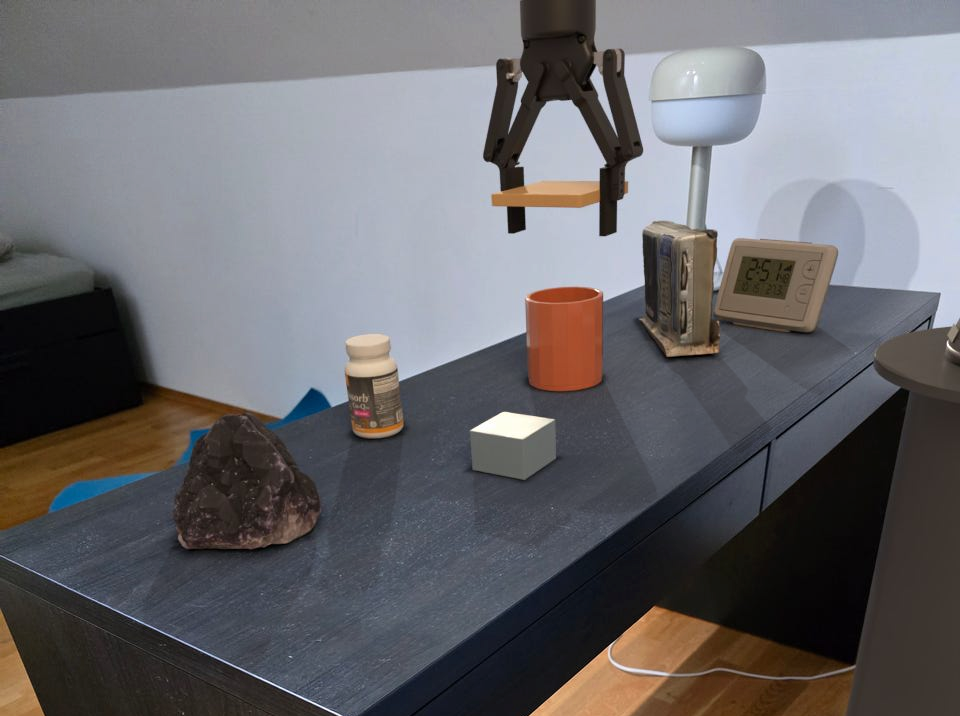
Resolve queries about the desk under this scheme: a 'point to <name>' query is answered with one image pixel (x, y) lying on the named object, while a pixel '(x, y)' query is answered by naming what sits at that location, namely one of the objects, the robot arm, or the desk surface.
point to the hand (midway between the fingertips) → (561, 233)
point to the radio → (680, 288)
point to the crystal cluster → (243, 489)
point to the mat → (551, 194)
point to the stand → (513, 445)
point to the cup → (564, 338)
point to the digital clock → (775, 284)
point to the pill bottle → (373, 387)
